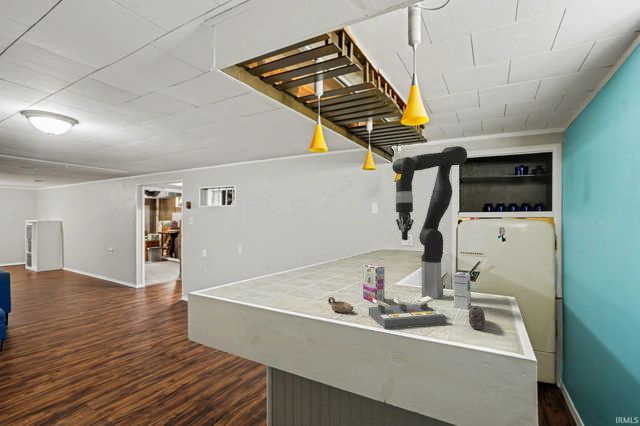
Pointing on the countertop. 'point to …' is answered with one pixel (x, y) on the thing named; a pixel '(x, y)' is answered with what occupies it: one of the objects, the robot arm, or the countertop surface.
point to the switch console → (406, 315)
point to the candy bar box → (373, 282)
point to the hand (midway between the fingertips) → (404, 239)
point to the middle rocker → (402, 302)
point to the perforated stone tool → (476, 317)
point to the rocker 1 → (381, 303)
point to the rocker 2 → (424, 300)
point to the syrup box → (462, 290)
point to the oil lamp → (340, 306)
